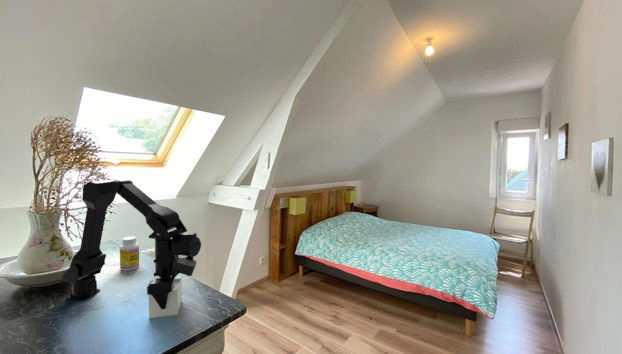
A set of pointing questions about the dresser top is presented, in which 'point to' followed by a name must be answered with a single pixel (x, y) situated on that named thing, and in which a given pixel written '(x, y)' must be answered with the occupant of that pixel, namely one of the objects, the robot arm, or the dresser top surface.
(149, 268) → the dresser top surface
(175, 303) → the white cube
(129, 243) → the supplement bottle
